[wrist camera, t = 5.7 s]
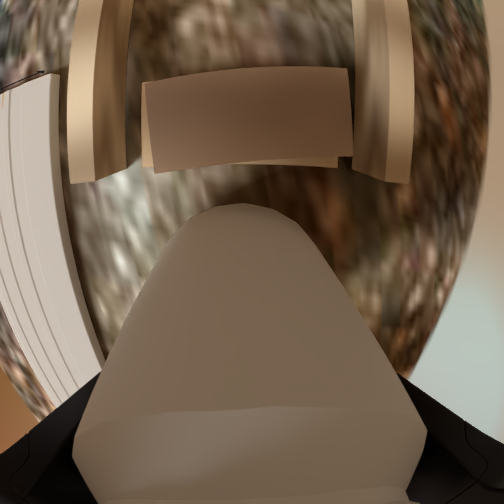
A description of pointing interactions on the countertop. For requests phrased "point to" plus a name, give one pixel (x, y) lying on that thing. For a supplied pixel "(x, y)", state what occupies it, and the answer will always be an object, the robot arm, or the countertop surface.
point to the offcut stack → (247, 118)
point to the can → (247, 380)
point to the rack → (366, 90)
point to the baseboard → (41, 244)
